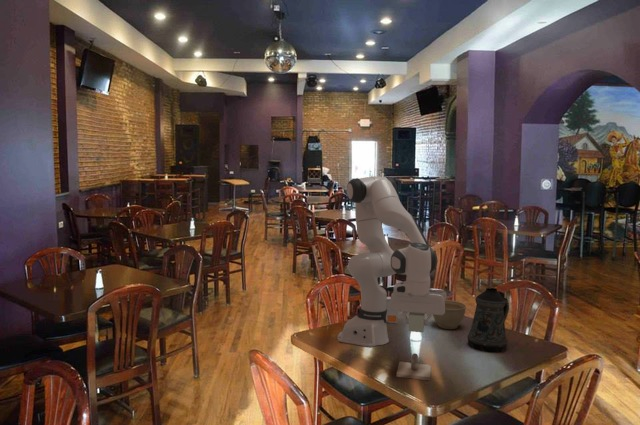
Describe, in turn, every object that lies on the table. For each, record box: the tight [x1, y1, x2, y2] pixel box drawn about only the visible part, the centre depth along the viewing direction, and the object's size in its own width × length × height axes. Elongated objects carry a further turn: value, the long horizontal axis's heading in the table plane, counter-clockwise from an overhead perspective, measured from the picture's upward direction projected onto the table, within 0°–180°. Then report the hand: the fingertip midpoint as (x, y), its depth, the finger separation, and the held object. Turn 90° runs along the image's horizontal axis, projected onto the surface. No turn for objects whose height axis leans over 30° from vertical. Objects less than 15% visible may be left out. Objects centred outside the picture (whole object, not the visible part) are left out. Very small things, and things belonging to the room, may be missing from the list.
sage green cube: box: [407, 312, 425, 333], centre depth 195 cm, size 5×5×6 cm
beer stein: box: [467, 287, 510, 354], centre depth 228 cm, size 16×19×25 cm
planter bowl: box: [432, 299, 467, 330], centre depth 254 cm, size 16×16×11 cm
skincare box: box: [386, 296, 399, 324], centre depth 259 cm, size 6×4×12 cm
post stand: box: [396, 352, 432, 381], centre depth 197 cm, size 12×12×7 cm
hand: (416, 324), depth 195 cm, fingers closed on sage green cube, 5 cm apart
